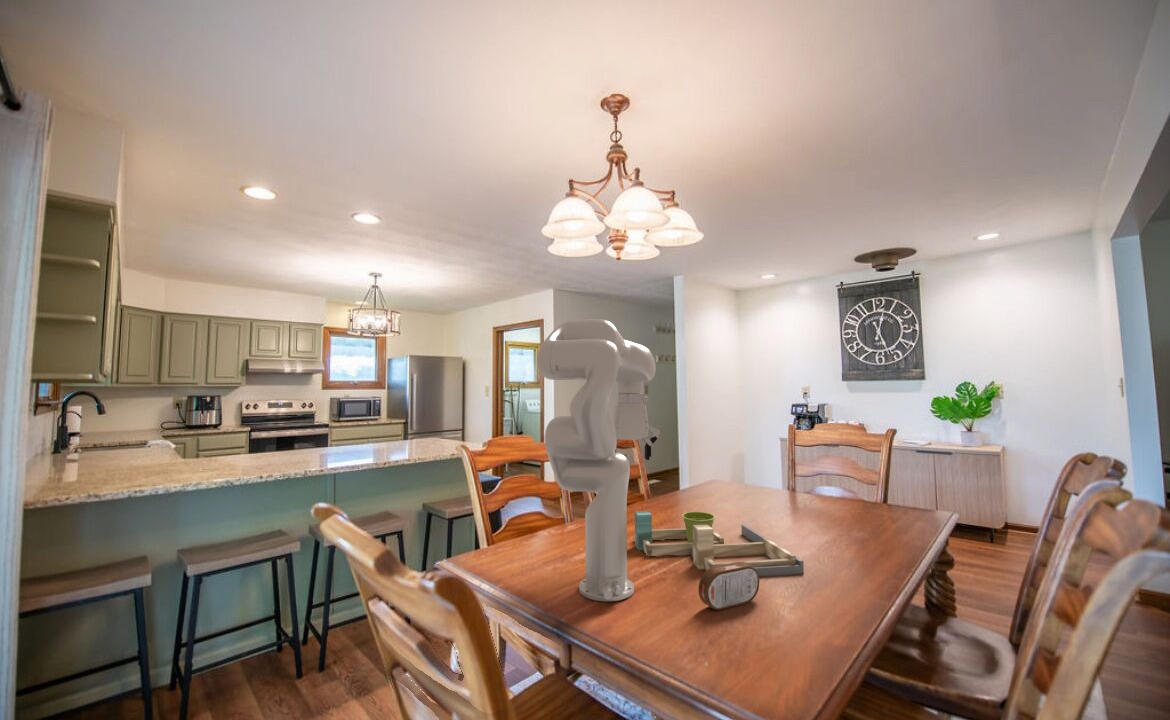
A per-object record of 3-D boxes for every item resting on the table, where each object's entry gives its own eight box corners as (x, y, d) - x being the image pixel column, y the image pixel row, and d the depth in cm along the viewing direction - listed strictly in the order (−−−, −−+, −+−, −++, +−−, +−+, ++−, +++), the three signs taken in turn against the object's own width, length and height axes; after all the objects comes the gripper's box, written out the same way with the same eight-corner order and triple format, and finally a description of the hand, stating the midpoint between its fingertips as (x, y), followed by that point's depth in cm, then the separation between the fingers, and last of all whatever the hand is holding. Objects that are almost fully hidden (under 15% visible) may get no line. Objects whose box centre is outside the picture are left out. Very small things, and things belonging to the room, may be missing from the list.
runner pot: (724, 552, 134) (723, 516, 135) (642, 557, 131) (642, 520, 132) (704, 537, 148) (704, 504, 149) (631, 540, 145) (630, 507, 146)
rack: (804, 573, 119) (804, 561, 119) (714, 579, 116) (714, 566, 116) (744, 534, 151) (744, 524, 151) (673, 537, 148) (672, 527, 148)
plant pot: (709, 553, 134) (708, 521, 134) (677, 547, 139) (677, 517, 140) (719, 544, 142) (719, 514, 142) (689, 538, 147) (688, 510, 147)
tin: (752, 595, 107) (751, 557, 107) (762, 601, 104) (761, 561, 104) (697, 609, 100) (696, 568, 101) (707, 615, 97) (706, 573, 98)
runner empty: (796, 572, 120) (795, 531, 120) (706, 577, 117) (706, 535, 117) (767, 552, 134) (766, 516, 135) (686, 556, 131) (686, 519, 132)
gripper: (656, 400, 144) (656, 458, 143) (599, 400, 142) (599, 458, 141) (662, 400, 137) (663, 461, 135) (602, 400, 135) (602, 461, 133)
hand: (630, 459), depth 138 cm, fingers open, 9 cm apart
